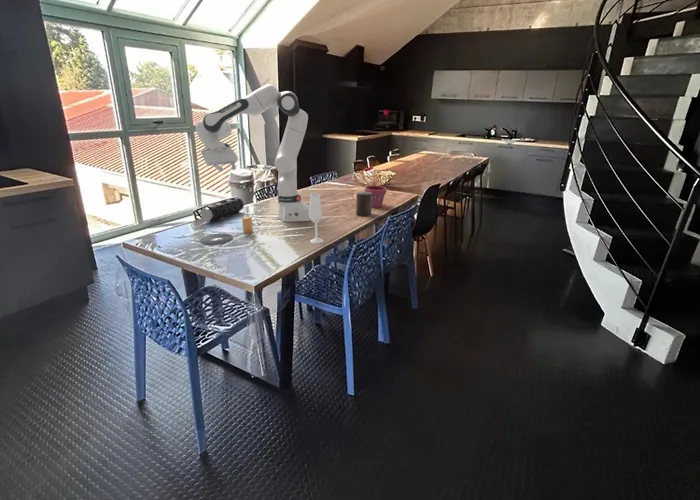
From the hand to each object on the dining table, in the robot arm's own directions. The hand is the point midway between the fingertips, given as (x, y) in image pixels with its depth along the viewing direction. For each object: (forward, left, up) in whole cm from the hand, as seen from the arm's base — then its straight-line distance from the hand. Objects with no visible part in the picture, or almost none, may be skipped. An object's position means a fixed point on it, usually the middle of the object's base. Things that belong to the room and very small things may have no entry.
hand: (228, 170), depth 207 cm
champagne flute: (-53, +22, -32) cm, 65 cm away
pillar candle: (-73, -30, -32) cm, 85 cm away
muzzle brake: (+12, -13, -32) cm, 37 cm away
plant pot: (-79, -50, -32) cm, 98 cm away
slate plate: (-1, +25, -31) cm, 40 cm away
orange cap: (-13, +12, -31) cm, 36 cm away
